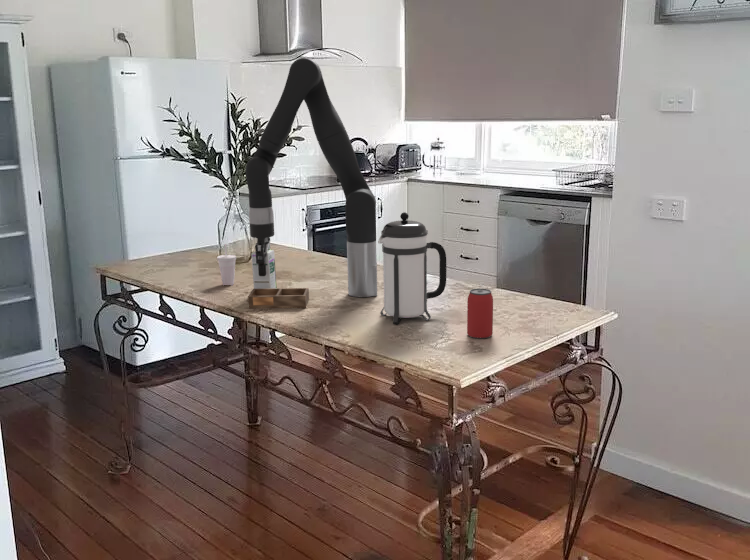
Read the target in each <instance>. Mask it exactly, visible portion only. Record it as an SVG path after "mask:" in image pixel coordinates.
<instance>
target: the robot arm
mask: <svg viewBox="0 0 750 560" xmlns="http://www.w3.org/2000/svg"><path fill="white" fill-rule="evenodd" d="M321 70H322V69H321V68H320V66H319V64H318V63H317V62H316V61H314V60H313V59H310V58H308V57H301V58H298V59H296V60H294V61H293V62H292V63H291V65H290V66H289V70H288V74H287V78H286V81H285V84H284V88H283V90H282V94H281V95H280V98H279V101H278V103H277V105H276V107H275V108H274V111H273V112H272V115H271V116H270V119H269V120H268V122H267V124H266V126H265V128H264V130H263V132H262V135H261V136H260V139H259V142H258V146H257V148H256V150H255V153H253V154H254V155H253V156H252V158H250V159H249V160H248V161H247V163H246V165H245V177H246V179H245V180H246V185H247V189H248V205H249V211H248V213H249V214H248V220H249V221H248V222H249V223H248V224H249V236H250V237H251V238H253V239H255V238H256V239H257V240H256V243H255V244H254V250H255V251H256V263H257V264H258V270H259V276H266V257H267V252H268V250H270V249H271V238H272V237H274V236H275V220H274V219H275V218H274V210H273V197H272V191H271V189H270V179H269V176H270V174H271V172H272V170H273V168H274V165H275V163H276V162H277V159H278V156H279V153H280V152H281V150H282V148H283V146H284V145H285V142H286V140H287V138H288V136H289V134H290V132H291V130H292V127H293V125H294V122H295V118H296V115H297V113H298V111H299V109H300V108H301V105H302V103H303V101H304V103H305V105H306V107H307V109H308V112H309V116H310V120H311V125H312V129H313V132H314V135H315V138H316V141H317V143H318V146H319V147H320V150H321V152H322V154H323V156H324V158H325V160H326V161H327V163H328V164H329V166H330V168H331V170H332V171H333V172H334V173H335V175H336V177H337V178H338V181H339V183H340V187H341V189H342V191H343V194H344V198H345V204H344V206H345V207H344V213H345V232H346V233H345V234H346V258H347V259H346V260H347V261H346V263H347V265H346V266H347V293H348V294H347V295H349V296H350V297H353V298H354V297H356V298H369V297H377V296H378V262H377V260H378V259H377V255H378V254H377V225H376V223H377V221H376V218H377V215H376V214H377V213H376V211H377V210H376V209H377V208H376V206H377V200H376V197H375V195H374V193H373V192H372V190H371V189H370V187H369V185H368V183H367V181H366V179H365V178H364V175H363V173H362V171H361V169H360V166H359V163H358V159H357V155H356V153H355V150H354V147H353V145H352V142H351V139H350V137H349V134H348V132H347V130H346V127H345V125H344V124H343V123H344V122H343V121H342V119H341V117H340V115H339V113H338V111H337V109H336V107H335V106H334V105H333V103H332V100H331V97H330V96H329V93H328V90H327V86H326V84H325V80H324V78H323V74H322V71H321ZM255 251H254V252H255ZM264 252H265V254H264ZM260 257H262V260H260Z"/></svg>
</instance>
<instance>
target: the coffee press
mask: <svg viewBox="0 0 750 560" xmlns="http://www.w3.org/2000/svg"><path fill="white" fill-rule="evenodd" d="M409 217H410V216H409V214H408V213H407V212H406V211H405V212H404V211H403V212H401V214H400V220H394V221H389V222H388V223H386V224H385V225H384V226H383V229H382V230H381V231H380V233H381V235H380V236H379V239H378V241H377V243H378V244H379V245H380V244H382V245H381V247H382V249H381V251H382V258H383V259H382V261H383V263H382V264H383V265H382V269H383V270H382V271H383V272H382V275H383V277H382V278H383V308H382V309H381V310H380V312H379V314H380V315H381V316H383V317H384V316H386V315H388V316H390V317H393V319H392V324H393V325H400V321H401V319H402V318H403V319H404V318H405V319H407V318H409V319H410V318H417V317H422V319H423V320H425V321H426V322H428V321H429V320H430V319H431V314H430V313H429V311H428V307H427V306H428V304H427V303H428V300H429V299H433V298H438V297H439V296H441V295H442V294H443V292H444V291H445V289H446V286H447V254H446V249H445V248H444V246H443V245H442V244H440V243H438V242H434V241H429V242H427V237H428V235H429V231H428V230H427V228H426V226H425V224H423V223H422V222H420V221H418V220H417V221H416V220H408V219H409ZM428 249H431V250H432V249H433V250H436V251H437V252H438V256H439V257H438V258H439V282H438V286H437V288H436V289H435V290H434V291H427V288H428V287H427V285H428V284H427V283H428V281H427V279H428V278H427V275H428V273H427V270H428V269H427V267H428V265H427V261H428V260H427V259H428V258H427V251H428ZM384 312H385V313H384ZM424 314H426V315H424ZM426 316H427V317H428V318H427V317H426Z"/></svg>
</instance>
